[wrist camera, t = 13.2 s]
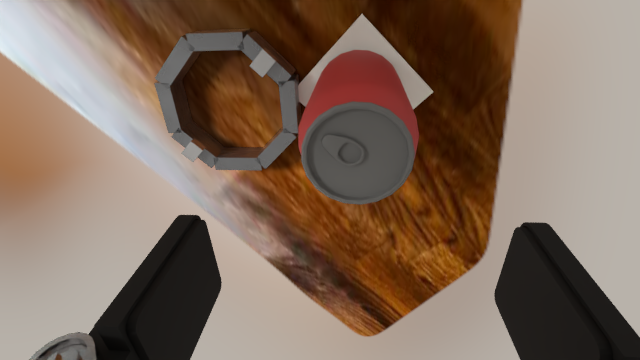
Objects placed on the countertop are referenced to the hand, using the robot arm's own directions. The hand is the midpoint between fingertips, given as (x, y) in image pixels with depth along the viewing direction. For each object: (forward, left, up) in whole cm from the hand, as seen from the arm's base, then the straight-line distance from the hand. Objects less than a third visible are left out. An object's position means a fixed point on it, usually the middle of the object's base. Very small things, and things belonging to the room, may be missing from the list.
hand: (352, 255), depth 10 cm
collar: (-7, -8, -20) cm, 22 cm away
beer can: (0, 0, -19) cm, 19 cm away
